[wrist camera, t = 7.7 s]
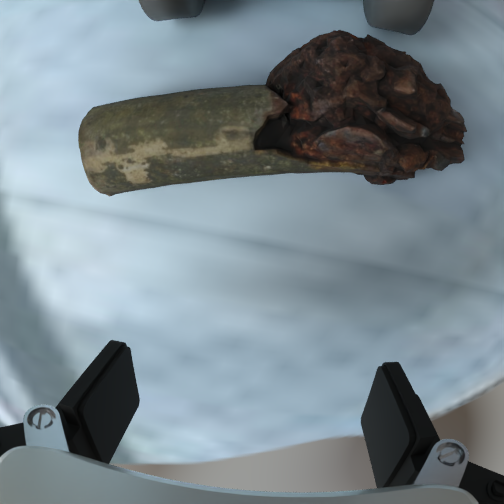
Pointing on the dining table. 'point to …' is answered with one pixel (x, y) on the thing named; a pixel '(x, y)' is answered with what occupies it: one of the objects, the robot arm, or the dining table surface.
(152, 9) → the trolley
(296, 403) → the dining table surface
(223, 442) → the dining table surface
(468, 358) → the dining table surface
